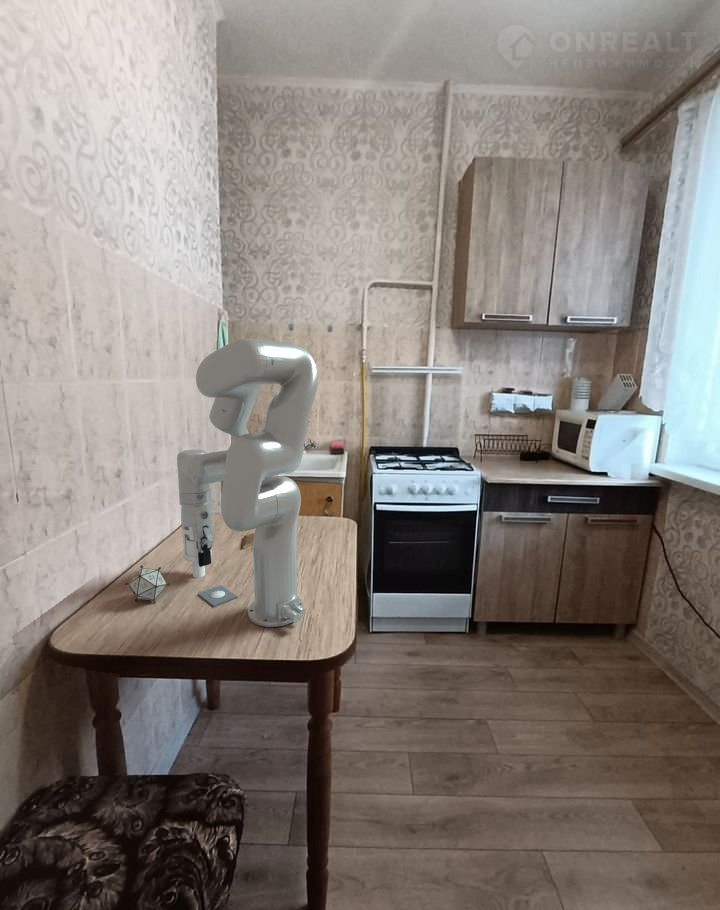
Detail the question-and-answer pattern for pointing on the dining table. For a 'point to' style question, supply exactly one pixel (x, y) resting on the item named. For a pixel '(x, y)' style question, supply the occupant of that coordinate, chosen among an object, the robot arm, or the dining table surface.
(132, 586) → the game die
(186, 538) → the white cylindrical housing
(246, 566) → the dining table surface
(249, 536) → the shard
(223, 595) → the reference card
